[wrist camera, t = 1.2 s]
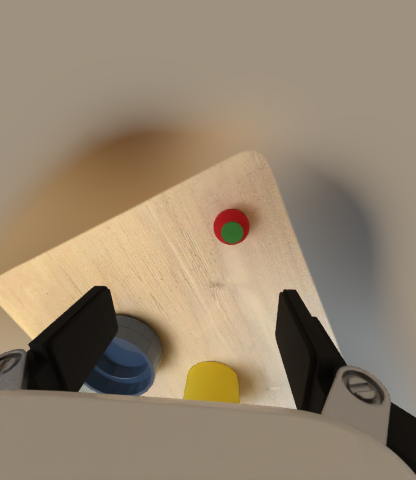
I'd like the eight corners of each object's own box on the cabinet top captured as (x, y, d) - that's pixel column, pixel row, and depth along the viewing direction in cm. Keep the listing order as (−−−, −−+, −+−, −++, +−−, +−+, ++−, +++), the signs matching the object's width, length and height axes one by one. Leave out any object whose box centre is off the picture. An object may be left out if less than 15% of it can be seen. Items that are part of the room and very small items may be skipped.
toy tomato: (208, 226, 28) (205, 238, 23) (226, 199, 26) (226, 205, 22) (234, 243, 28) (237, 258, 24) (254, 218, 27) (260, 227, 22)
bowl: (79, 349, 38) (58, 374, 34) (105, 299, 34) (86, 320, 29) (143, 381, 40) (132, 409, 35) (177, 337, 35) (169, 363, 31)
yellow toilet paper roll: (230, 357, 36) (233, 419, 27) (243, 394, 39) (249, 460, 30) (180, 365, 38) (166, 426, 29) (196, 400, 41) (188, 464, 32)
